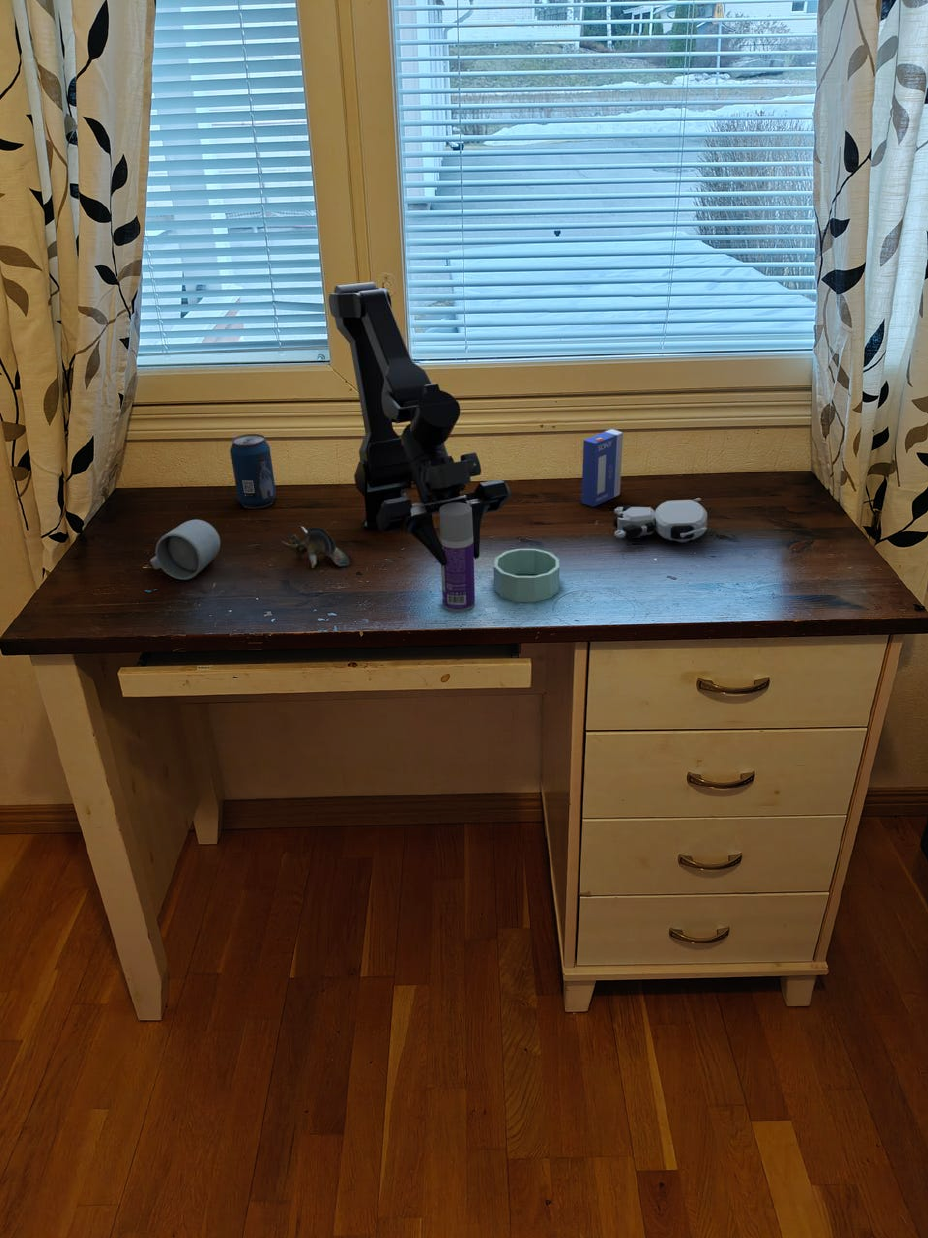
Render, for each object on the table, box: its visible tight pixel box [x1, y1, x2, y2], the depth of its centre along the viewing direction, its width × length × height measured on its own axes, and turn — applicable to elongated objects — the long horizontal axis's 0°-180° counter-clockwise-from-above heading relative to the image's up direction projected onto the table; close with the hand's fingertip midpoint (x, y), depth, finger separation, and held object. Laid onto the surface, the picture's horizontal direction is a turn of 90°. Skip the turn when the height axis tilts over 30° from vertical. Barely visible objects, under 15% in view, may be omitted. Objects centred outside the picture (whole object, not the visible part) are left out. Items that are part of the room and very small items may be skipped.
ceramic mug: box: [149, 519, 222, 581], centre depth 149 cm, size 11×8×8 cm
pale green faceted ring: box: [493, 548, 561, 603], centre depth 141 cm, size 10×10×4 cm
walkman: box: [581, 428, 624, 508], centre depth 167 cm, size 8×3×12 cm, turn 134°
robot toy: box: [612, 497, 708, 543], centre depth 155 cm, size 12×4×15 cm
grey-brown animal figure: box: [281, 525, 351, 569], centre depth 150 cm, size 8×7×9 cm
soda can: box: [229, 433, 277, 509], centre depth 170 cm, size 7×7×12 cm
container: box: [439, 502, 476, 613], centre depth 134 cm, size 5×5×15 cm
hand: (460, 561), depth 133 cm, fingers closed on container, 4 cm apart
